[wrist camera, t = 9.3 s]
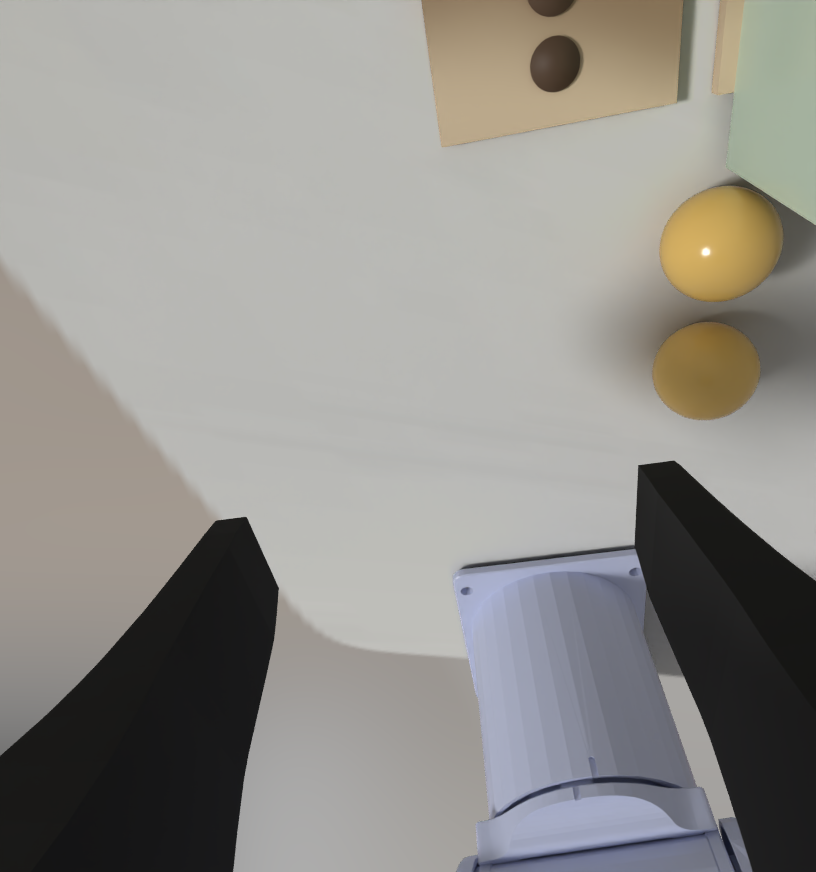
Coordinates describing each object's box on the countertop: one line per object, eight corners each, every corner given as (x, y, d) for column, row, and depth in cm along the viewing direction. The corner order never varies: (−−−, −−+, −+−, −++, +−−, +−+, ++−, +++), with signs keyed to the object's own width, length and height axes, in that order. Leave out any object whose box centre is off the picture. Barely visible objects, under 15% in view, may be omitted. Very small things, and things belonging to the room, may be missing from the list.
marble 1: (746, 267, 19) (794, 311, 17) (643, 283, 19) (676, 328, 17) (760, 163, 17) (817, 195, 15) (647, 183, 18) (685, 217, 15)
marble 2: (729, 379, 21) (770, 432, 19) (638, 392, 22) (666, 446, 19) (741, 297, 20) (787, 344, 17) (642, 313, 20) (673, 361, 18)
